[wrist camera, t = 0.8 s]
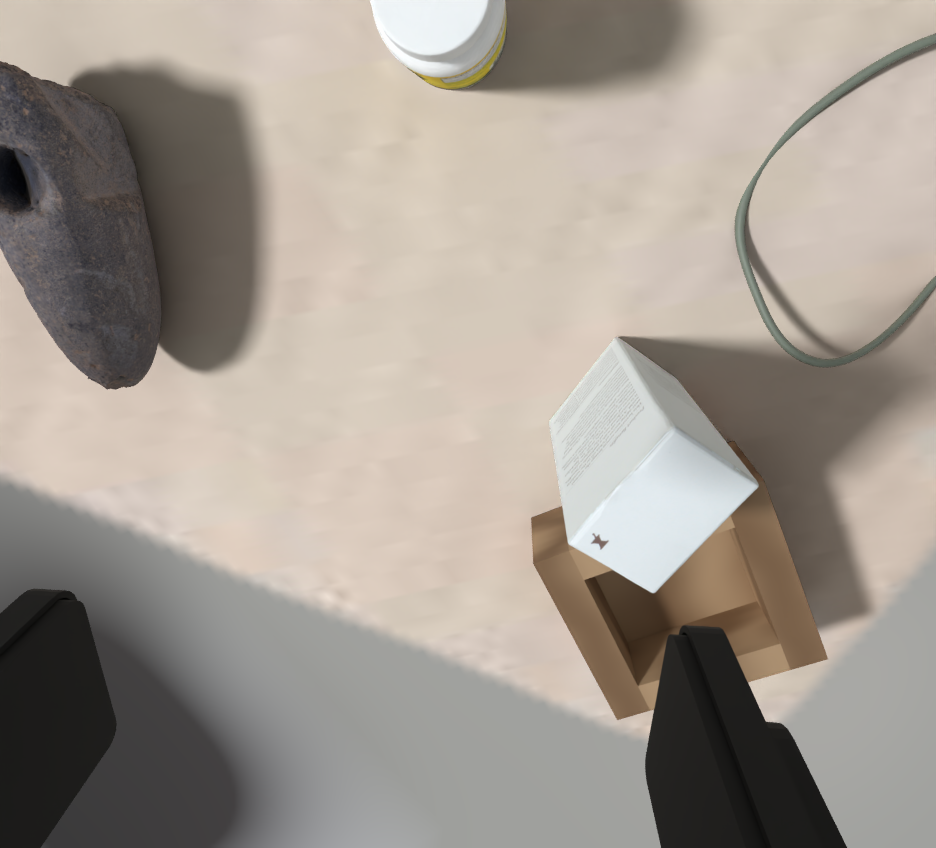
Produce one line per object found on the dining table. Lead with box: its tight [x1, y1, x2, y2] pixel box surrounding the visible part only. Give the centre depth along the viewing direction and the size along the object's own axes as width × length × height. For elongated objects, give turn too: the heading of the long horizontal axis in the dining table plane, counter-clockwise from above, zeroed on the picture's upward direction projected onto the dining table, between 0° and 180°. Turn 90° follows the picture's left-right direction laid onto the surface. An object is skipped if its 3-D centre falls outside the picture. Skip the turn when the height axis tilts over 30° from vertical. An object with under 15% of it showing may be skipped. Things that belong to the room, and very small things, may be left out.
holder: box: [531, 441, 828, 720], centre depth 35 cm, size 12×12×4 cm
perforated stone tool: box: [0, 61, 161, 389], centre depth 29 cm, size 15×5×7 cm, turn 2°
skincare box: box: [549, 337, 759, 593], centre depth 28 cm, size 6×4×12 cm
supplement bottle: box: [370, 0, 507, 90], centre depth 23 cm, size 5×5×8 cm
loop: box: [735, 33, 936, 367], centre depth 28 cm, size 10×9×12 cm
